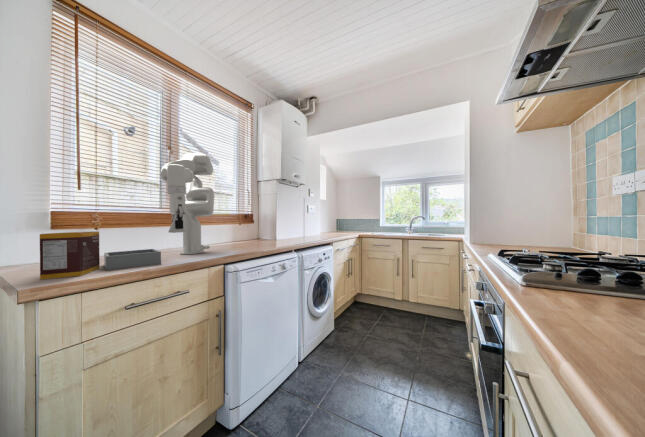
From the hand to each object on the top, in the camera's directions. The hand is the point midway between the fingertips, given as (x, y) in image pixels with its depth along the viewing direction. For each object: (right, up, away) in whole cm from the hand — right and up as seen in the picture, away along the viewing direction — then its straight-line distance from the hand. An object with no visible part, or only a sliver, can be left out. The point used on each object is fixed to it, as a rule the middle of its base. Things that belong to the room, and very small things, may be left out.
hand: (177, 228), depth 111 cm
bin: (-16, -16, -7) cm, 24 cm away
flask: (0, -2, 0) cm, 2 cm away
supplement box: (-24, -16, -24) cm, 38 cm away
